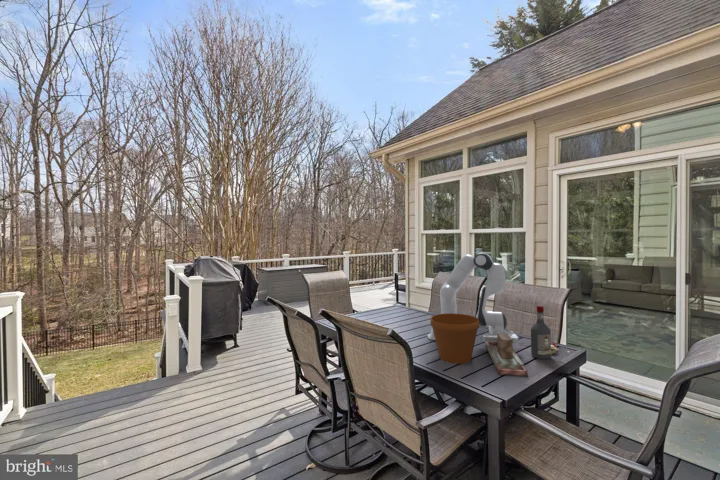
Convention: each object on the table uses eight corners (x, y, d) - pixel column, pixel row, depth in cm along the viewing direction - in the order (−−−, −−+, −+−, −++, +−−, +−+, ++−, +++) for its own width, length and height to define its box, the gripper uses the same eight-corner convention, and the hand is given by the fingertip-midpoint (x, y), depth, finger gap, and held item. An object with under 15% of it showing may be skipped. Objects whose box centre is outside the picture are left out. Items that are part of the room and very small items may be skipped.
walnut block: (501, 358, 189) (501, 339, 189) (497, 351, 201) (497, 333, 200) (512, 359, 188) (512, 339, 187) (508, 351, 199) (507, 333, 199)
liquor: (529, 354, 202) (528, 305, 202) (541, 353, 204) (540, 304, 204) (540, 360, 193) (539, 308, 193) (553, 358, 195) (552, 307, 195)
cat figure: (534, 344, 226) (542, 353, 202) (533, 330, 226) (541, 338, 202) (550, 345, 223) (560, 354, 199) (550, 331, 223) (560, 340, 199)
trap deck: (498, 374, 175) (498, 366, 175) (485, 344, 222) (485, 339, 222) (527, 376, 172) (527, 368, 172) (508, 346, 219) (508, 339, 219)
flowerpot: (465, 348, 216) (464, 312, 216) (489, 364, 189) (488, 323, 189) (424, 351, 212) (423, 315, 211) (443, 368, 184) (442, 326, 184)
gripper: (481, 330, 216) (484, 336, 202) (515, 331, 211) (520, 337, 198) (481, 339, 216) (484, 346, 202) (515, 341, 211) (521, 348, 198)
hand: (503, 342), depth 200 cm, fingers closed, pressing on walnut block
